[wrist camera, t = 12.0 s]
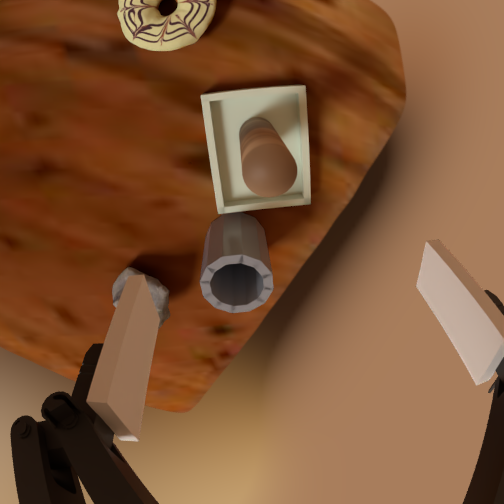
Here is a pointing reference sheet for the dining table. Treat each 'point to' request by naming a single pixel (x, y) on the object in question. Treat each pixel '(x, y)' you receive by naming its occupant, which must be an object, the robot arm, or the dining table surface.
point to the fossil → (155, 288)
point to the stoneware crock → (236, 264)
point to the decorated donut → (165, 23)
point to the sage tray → (228, 145)
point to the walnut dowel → (265, 159)
